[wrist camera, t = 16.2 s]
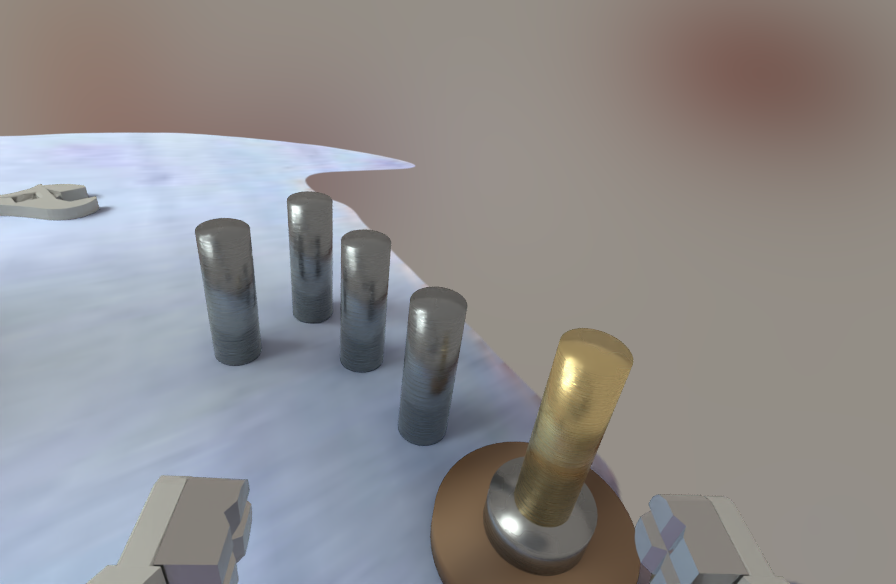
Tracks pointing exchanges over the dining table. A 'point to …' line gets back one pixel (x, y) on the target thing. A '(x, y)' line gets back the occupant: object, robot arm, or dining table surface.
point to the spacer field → (362, 307)
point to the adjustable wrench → (49, 202)
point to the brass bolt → (558, 459)
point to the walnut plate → (479, 565)
